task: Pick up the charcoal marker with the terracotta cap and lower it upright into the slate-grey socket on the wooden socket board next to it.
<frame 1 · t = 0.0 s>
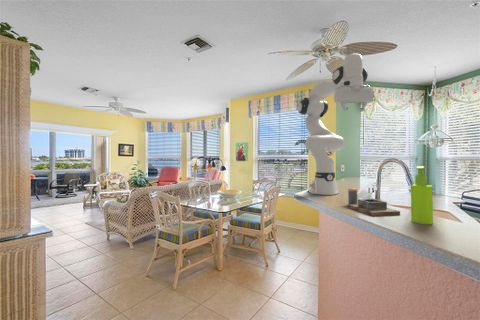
hand: (353, 111, 112), 48 cm above the table, tool pointing down, fingers open, 8 cm apart
soap dispenser: (421, 222, 76), on the table
wooden socket board: (371, 210, 93), on the table
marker: (352, 204, 106), on the table
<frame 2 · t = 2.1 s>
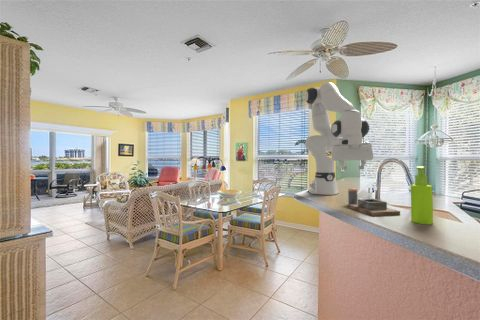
hand: (352, 169, 106), 18 cm above the table, tool pointing down, fingers open, 8 cm apart
nothing on the table moved.
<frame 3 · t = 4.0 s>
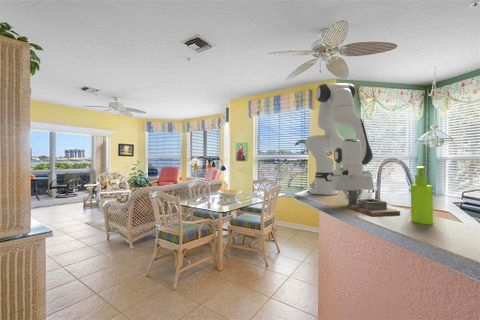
hand: (352, 199, 106), 3 cm above the table, tool pointing down, fingers closed on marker, 4 cm apart
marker: (352, 204, 106), on the table, touching gripper
everything else where it was.
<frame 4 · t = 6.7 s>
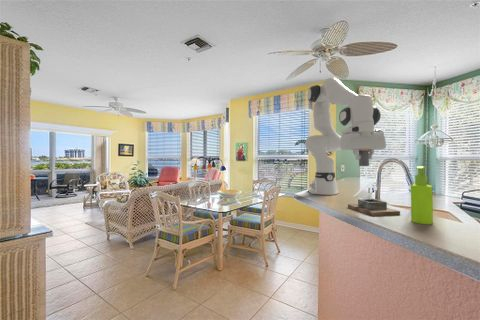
hand: (363, 159, 98), 22 cm above the table, tool pointing down, fingers closed on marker, 4 cm apart
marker: (364, 165, 97), point 20 cm above the table, touching gripper
everything else where it was.
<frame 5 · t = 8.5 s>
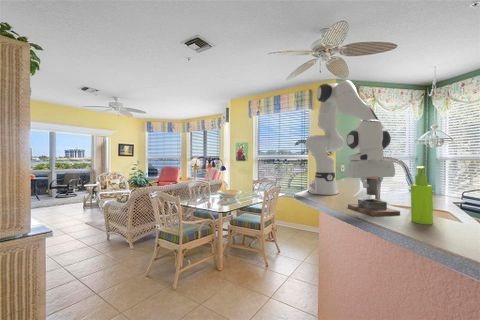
hand: (371, 187, 93), 10 cm above the table, tool pointing down, fingers closed on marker, 4 cm apart
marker: (371, 194, 93), point 7 cm above the table, touching gripper
everything else where it was.
when the fingers open (6 cm above the table, at t = 9.7 s): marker drops 1 cm, resting on wooden socket board.
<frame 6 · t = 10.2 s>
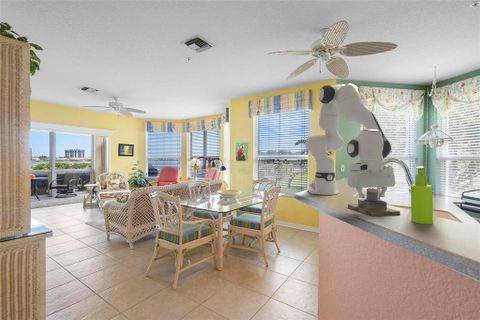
hand: (371, 197, 93), 6 cm above the table, tool pointing down, fingers open, 8 cm apart
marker: (371, 207, 93), point 2 cm above the table, touching wooden socket board
everything else where it was.
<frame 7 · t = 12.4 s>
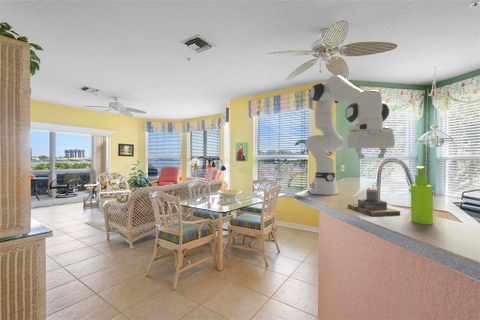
hand: (371, 158, 93), 23 cm above the table, tool pointing down, fingers open, 8 cm apart
nothing on the table moved.
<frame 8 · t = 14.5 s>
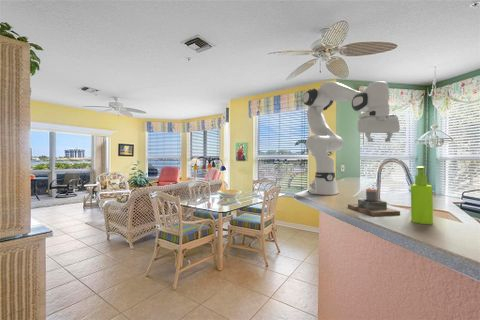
hand: (379, 141, 106), 31 cm above the table, tool pointing down, fingers open, 8 cm apart
nothing on the table moved.
at the end: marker 0.0 cm off-centre on the wooden socket board, point 1.5 cm above the wooden socket board's base; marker tilted 1°; the gripper is holding nothing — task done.
